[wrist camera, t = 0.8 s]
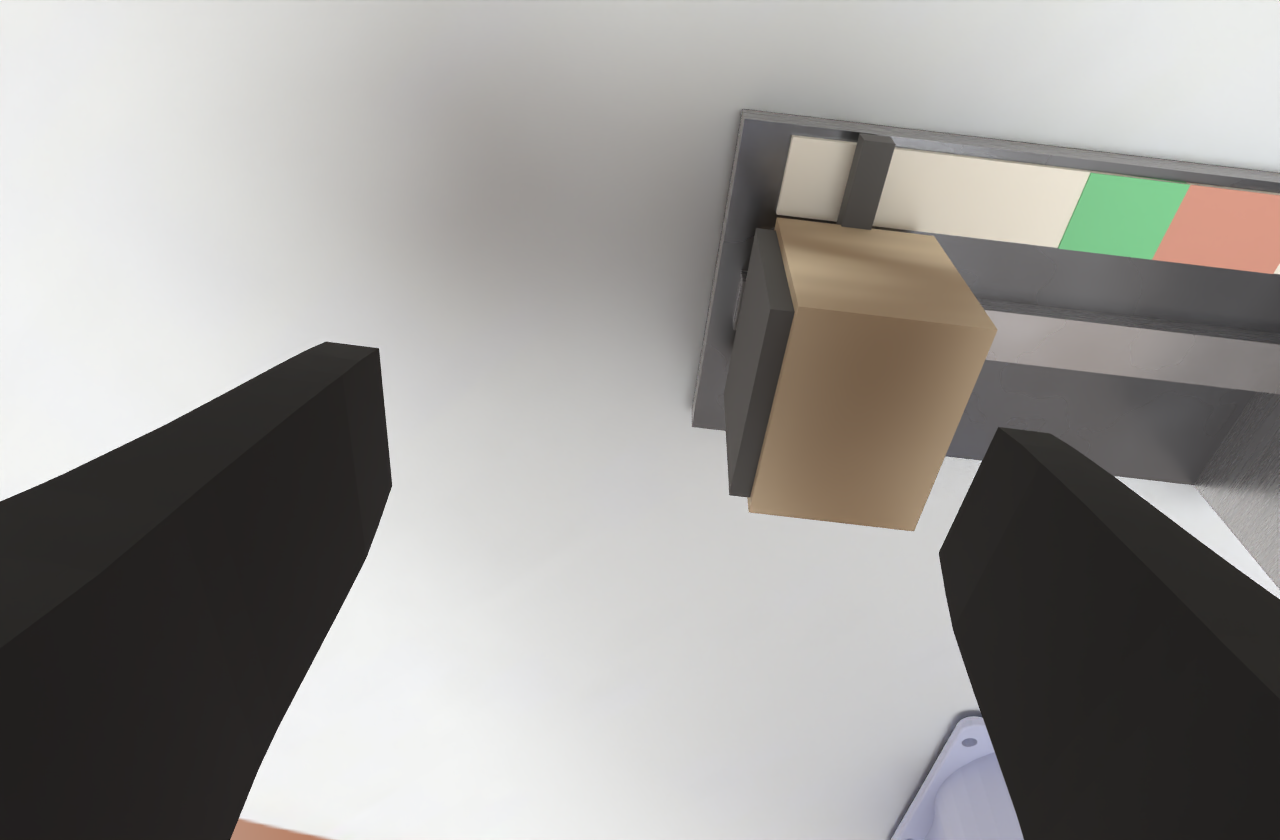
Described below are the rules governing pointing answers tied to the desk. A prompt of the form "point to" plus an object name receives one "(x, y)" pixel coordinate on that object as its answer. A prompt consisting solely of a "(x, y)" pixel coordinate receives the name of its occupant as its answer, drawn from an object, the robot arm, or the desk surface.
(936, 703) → the desk surface
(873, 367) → the gauge slider
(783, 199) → the gauge bed
